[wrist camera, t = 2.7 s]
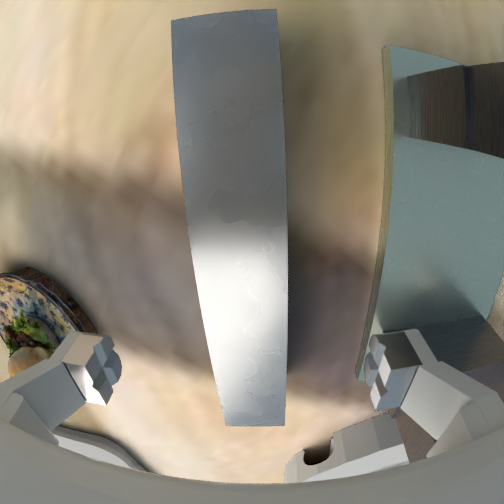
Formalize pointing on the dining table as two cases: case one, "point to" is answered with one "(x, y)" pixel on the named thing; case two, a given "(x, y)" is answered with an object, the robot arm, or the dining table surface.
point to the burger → (36, 317)
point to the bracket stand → (441, 218)
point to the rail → (236, 202)
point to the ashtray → (354, 452)
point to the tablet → (95, 447)
